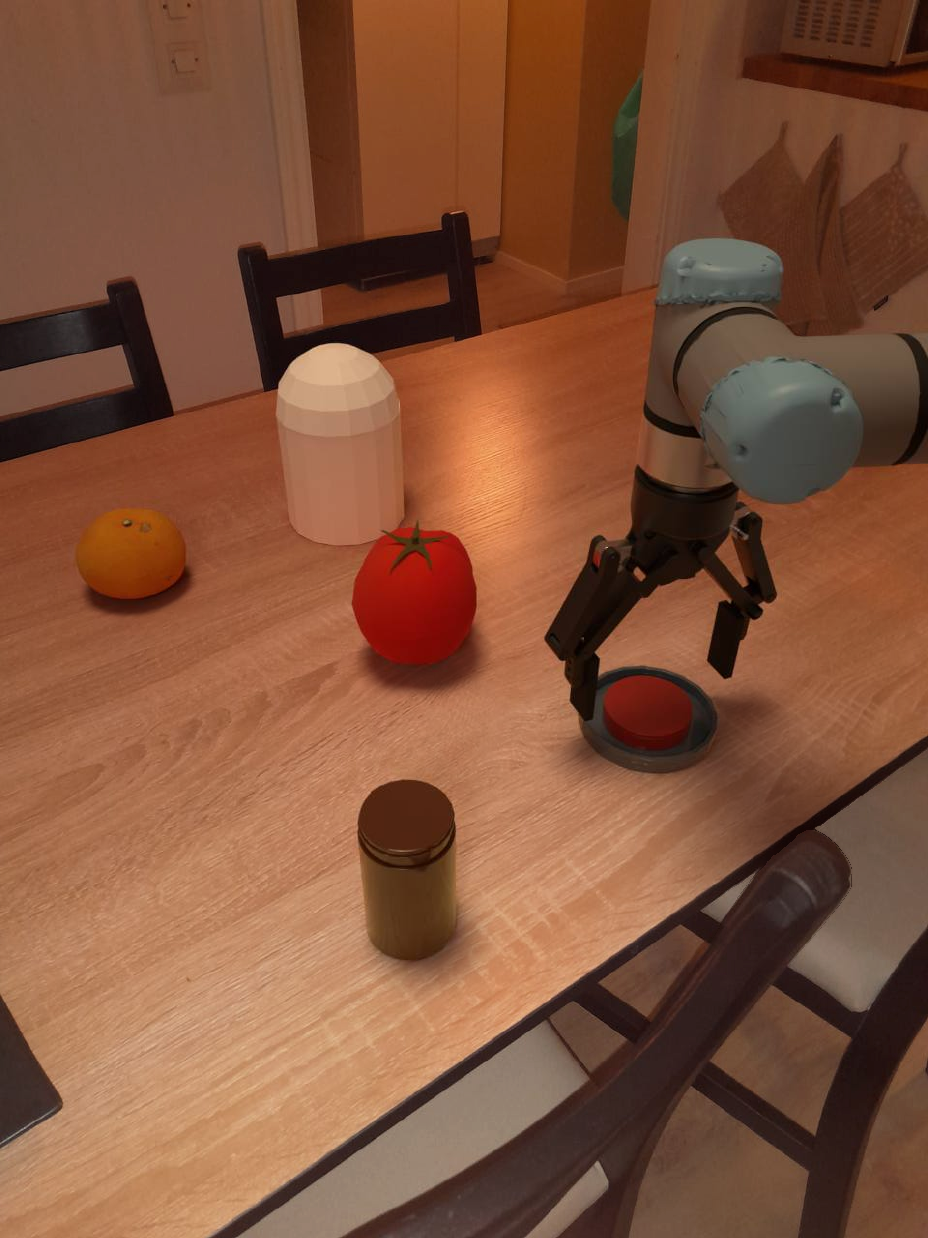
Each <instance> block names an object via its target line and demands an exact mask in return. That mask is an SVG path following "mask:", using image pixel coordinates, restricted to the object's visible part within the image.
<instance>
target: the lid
mask: <svg viewBox="0 0 928 1238" xmlns="http://www.w3.org/2000/svg"><path fill="white" fill-rule="evenodd" d="M692 715H693V706H692V703H691V701H690V699H689V697H688V696H687V694H686V693H685V692H684V691H683V690H682V689H681V688H679V687H678V686H676V685H675V684H673V683H671V682H669V681H667V680H664V679H661V678H657V677H653V676H631V677H627V678H624V679H621V680H619V681H617V682H616V683H614V684H613V685H612V686H611V687H610V688H609V689H608V690H607V692H606V694H605V698H604V706H603V714H602V717H603V722H604V725H605V727H606V729H607V730H608V732H609V733H610V734H611V735H612V736H613V737H614V738H616V739H617V740H618V741H620V742H622V743H623V744H625V745H628V746H630V747H633V748H636V749H641V750H649V751H657V750H664V749H668V748H671V747H674V746H676V745H677V744H679V743H680V742H682V741H683V740H684V739H685V737H686V736H687V734H688V732H689V729H690V725H691V720H692Z"/></svg>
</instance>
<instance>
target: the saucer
mask: <svg viewBox="0 0 928 1238" xmlns="http://www.w3.org/2000/svg"><path fill="white" fill-rule="evenodd" d="M631 676H653V677H657V678H661V679H664V680H667V681H669V682H671V683H673V684H675V685H676V686H678V687H679V688H681V689H682V690H683V691H684V692H685V693H686V694H687V696H688V697H689V699H690V701H691V703H692V706H693V715H692V720H691V725H690V729H689V732H688V734H687V736H686V737H685V739H684V740H683V741H682V742H680V743H679V744H677V745H676V746H674V747H671V748H668V749H664V750H657V751H649V750H641V749H636V748H633V747H630V746H628V745H625V744H623V743H622V742H620V741H618V740H617V739H616V738H614V737H613V736H612V735H611V734H610V733H609V732H608V730H607V729H606V727H605V725H604V722H603V717H602V714H603V706H604V698H605V694H606V692H607V690H608V689H609V688H610V687H611V686H612V685H613V684H614V683H616V682H617V681H619V680H621V679H624V678H627V677H631ZM577 714H578V723H579V728H580V731H581V734H582V735H583V738H584V739H585V740H586V742H587V743H588V744H589V746H590V747H591V748H592V749H593V750H594V751H595V752H596V753H597V754H599V755H601V757H603V758H604V759H606V760H608V761H610V762H612V763H613V764H616V765H618V766H620V767H624V768H626V769H629V770H633V771H638V772H643V773H657V774H659V773H668V772H675V771H679V770H683V769H686V768H688V767H691V766H692V765H694V764H696V763H698V762H699V761H700V760H702V759H703V758H704V757H705V756H706V755H707V754H708V753H709V751H710V750H711V748H712V746H713V743H714V741H715V740H716V737H717V731H718V722H719V721H718V719H719V714H718V712H717V709H716V707H715V704H714V702H713V700H712V698H711V697H710V696H709V695H708V694H707V693H706V691H704V690H703V689H702V687H701V686H700V685H699V684H697V683H695V682H693V680H690V679H689V678H687V677H686V676H684V675H682V674H679V673H676V672H674V671H671V670H668V669H666V668H660V667H654V666H649V665H632V666H631V665H630V666H621V667H617V668H613V669H611V670H607V671H604V672H603V673H601V674H600V675H598V682H597V690H596V698H595V707H594V715H593V719H592V720H589V721H586V722H585V721H584V720H583V718H582V717H581V716H580V714H579V713H577Z"/></svg>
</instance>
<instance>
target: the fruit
mask: <svg viewBox="0 0 928 1238" xmlns="http://www.w3.org/2000/svg"><path fill="white" fill-rule="evenodd" d="M186 560H187V547H186V541H185V538H184V536H183V533H182V532H181V530H180V529H179V527H178V526H177V525H176V523H174V521H173V520H171V518H169V516H167V515H165V514H164V513H163V512H159V511H157V510H154V509H150V508H149V509H148V508H137V507H120V508H115V509H112V510H109V511H106V512H103V513H102V514H100V515H99V516H98V517H96V518H95V519H94V520H93V521H92V522H91V523H90V524H89V525H88V526H87V527H86V528H85V529H84V531H82V533H81V535H80V537H79V539H78V541H77V544H76V549H75V562H76V565H77V569H78V572H79V574H80V576H81V578H82V579H83V581H84V582H85V583H86V584H87V585H88V586H89V587H90V588H91V589H92V590H94V591H95V592H97V593H99V594H101V595H103V596H107V597H109V598H114V599H120V600H136V599H144V598H147V597H150V596H154V595H155V596H156V595H157V594H159V593H161V592H163V591H165V590H167V589H169V588H170V587H171V586H173V585H174V584H175V583H176V582H177V581H178V580H179V579H180V578H181V576H182V574H183V572H184V569H185V565H186Z"/></svg>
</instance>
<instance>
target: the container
mask: <svg viewBox="0 0 928 1238" xmlns="http://www.w3.org/2000/svg"><path fill="white" fill-rule="evenodd" d="M276 396H277V397H276V408H275V417H276V423H277V430H278V440H279V446H280V455H281V462H282V471H283V479H284V486H285V497H286V503H287V511H288V518H289V523H290V525H291V527H292V528H293V529H294V531H295V532H296V533H297V534H298V535H300V536H301V537H304V538H305V539H307V540H310V541H311V542H313V543H317V544H318V543H319V544H322V545H323V544H325V545H329V546H335V547H336V546H337V547H338V546H357V545H364V544H367V543H370V542H373V541H377V540H378V539H379V537H381V536H384V535H386V533H384V532H382V531H380V530H384V531H386V532H388V533H390V532H392V531H394V530H396V529H398V528H399V526H400V525H401V523H402V522H403V520H404V519H405V517H406V516H405V493H404V467H403V466H404V465H403V444H402V443H403V442H402V417H401V416H402V414H401V403H400V398H399V396H398V392H397V388H396V385H395V381H394V378H393V376H391V374H390V373H389V371H388V370H387V369H386V368H385V367H384V365H383V364H382V363H381V362H380V360H379V359H377V358H376V357H375V356H374V355H373V354H371V353H369V352H366V351H365V350H362V349H360V348H359V347H356V346H353V345H351V344H347V343H340V342H333V343H325V344H320V345H317V346H315V347H312V348H311V349H309V350H307V351H306V352H304V353H303V354H300V355H299V356H297V357H296V358H295V359H294V360H292V362H290V364H289V365H288V367H287V369H286V370H285V371H284V374H283V375H282V377H281V378H280V380H279V382H278V388H277V395H276Z"/></svg>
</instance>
